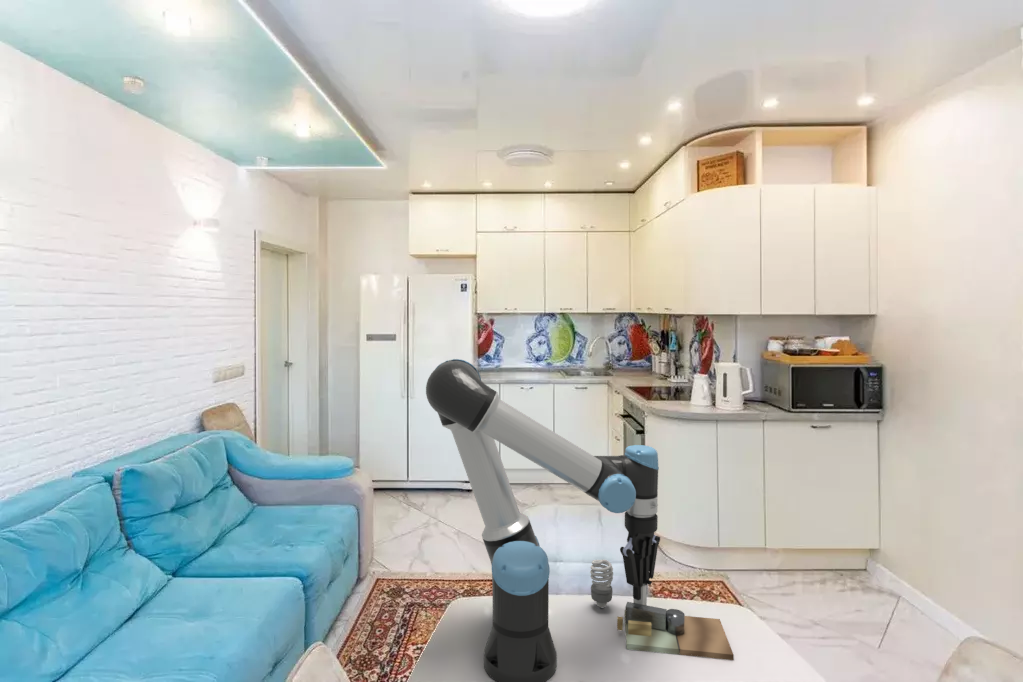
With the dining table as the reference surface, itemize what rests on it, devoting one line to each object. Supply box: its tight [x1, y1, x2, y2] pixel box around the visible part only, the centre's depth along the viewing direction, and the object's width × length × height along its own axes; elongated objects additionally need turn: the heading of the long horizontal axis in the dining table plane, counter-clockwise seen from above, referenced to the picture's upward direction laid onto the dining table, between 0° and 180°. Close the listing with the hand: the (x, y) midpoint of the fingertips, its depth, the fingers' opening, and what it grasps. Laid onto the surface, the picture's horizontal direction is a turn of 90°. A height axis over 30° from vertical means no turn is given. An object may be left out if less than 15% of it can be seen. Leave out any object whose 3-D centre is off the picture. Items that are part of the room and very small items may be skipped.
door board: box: [616, 612, 735, 661], centre depth 122 cm, size 24×14×4 cm, turn 80°
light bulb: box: [589, 559, 614, 609], centre depth 134 cm, size 6×6×12 cm
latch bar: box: [624, 601, 686, 635], centre depth 124 cm, size 13×4×4 cm, turn 68°
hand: (639, 610), depth 127 cm, fingers closed
